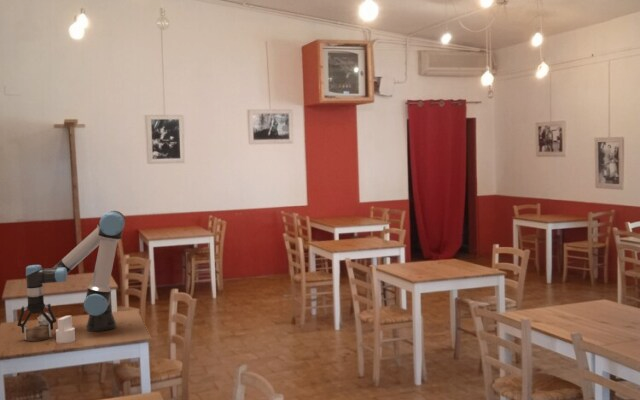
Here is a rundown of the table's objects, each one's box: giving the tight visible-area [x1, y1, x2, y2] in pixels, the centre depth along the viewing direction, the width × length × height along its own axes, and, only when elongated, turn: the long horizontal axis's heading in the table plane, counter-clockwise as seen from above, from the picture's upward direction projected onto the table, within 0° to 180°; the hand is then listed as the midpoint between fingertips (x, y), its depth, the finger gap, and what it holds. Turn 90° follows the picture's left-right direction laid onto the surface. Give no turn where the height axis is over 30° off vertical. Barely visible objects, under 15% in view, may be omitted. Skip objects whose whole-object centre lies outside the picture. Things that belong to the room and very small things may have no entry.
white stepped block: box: [55, 315, 76, 344], centre depth 339 cm, size 9×9×12 cm
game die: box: [35, 312, 53, 327], centre depth 375 cm, size 9×8×10 cm
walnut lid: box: [26, 325, 51, 342], centre depth 346 cm, size 11×11×5 cm
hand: (38, 337), depth 346 cm, fingers closed on walnut lid, 11 cm apart
